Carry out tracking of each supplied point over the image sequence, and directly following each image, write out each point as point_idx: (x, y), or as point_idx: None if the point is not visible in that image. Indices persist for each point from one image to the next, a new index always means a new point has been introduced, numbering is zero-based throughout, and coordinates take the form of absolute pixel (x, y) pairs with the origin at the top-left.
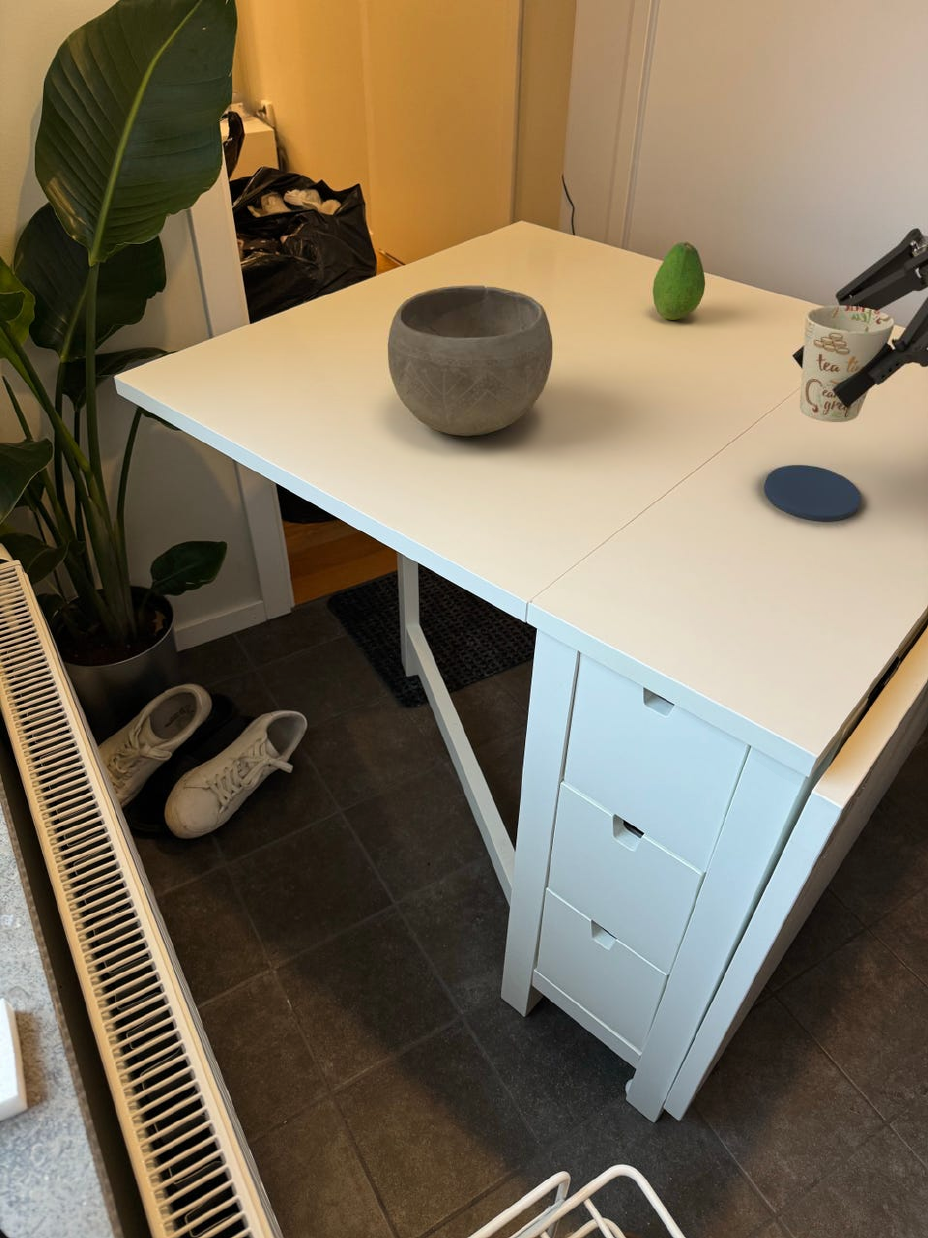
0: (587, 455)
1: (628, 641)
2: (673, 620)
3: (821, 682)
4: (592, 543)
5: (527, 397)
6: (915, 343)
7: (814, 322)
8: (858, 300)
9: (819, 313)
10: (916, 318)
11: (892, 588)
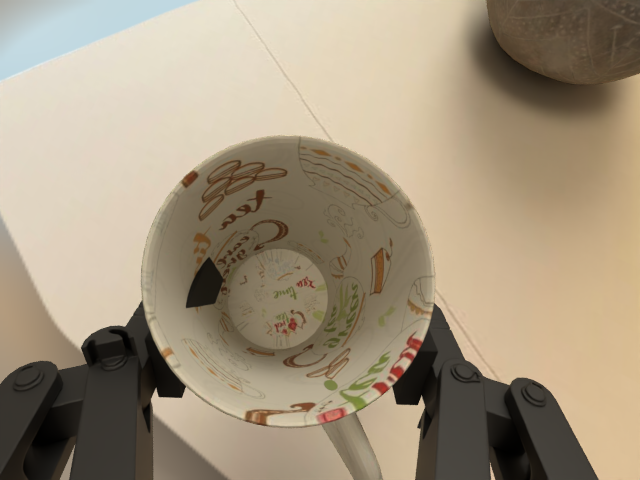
0: (447, 127)
1: (142, 35)
2: (152, 81)
3: (14, 158)
4: (288, 66)
5: (509, 17)
6: (47, 385)
7: (393, 230)
8: (444, 406)
9: (414, 245)
10: (113, 468)
11: (100, 323)
